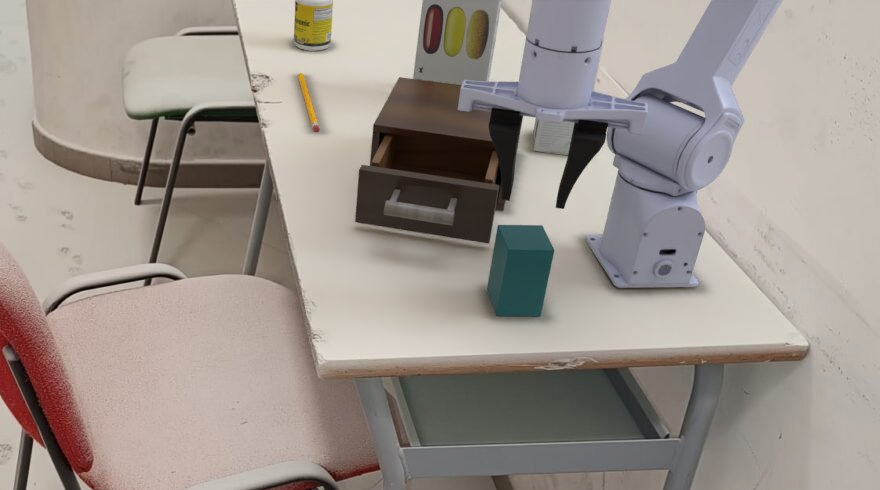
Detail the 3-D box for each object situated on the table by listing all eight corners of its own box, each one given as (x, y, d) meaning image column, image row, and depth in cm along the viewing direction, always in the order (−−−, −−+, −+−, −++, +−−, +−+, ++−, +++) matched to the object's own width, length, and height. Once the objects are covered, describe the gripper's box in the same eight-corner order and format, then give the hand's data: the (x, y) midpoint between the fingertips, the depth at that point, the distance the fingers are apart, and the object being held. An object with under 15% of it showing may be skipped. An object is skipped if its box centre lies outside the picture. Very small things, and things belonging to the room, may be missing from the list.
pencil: (312, 132, 122) (313, 127, 121) (297, 77, 137) (298, 73, 136) (319, 132, 122) (319, 127, 121) (303, 78, 137) (303, 73, 136)
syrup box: (582, 157, 118) (608, 33, 109) (530, 151, 119) (553, 28, 110) (580, 137, 122) (605, 18, 114) (530, 132, 123) (552, 13, 115)
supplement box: (407, 108, 128) (422, -28, 119) (417, 83, 136) (431, -47, 126) (483, 117, 127) (504, -20, 117) (488, 91, 134) (508, -40, 124)
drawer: (483, 265, 95) (493, 210, 92) (345, 242, 98) (349, 188, 94) (503, 185, 109) (511, 135, 106) (381, 167, 112) (386, 117, 109)
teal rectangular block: (540, 316, 90) (554, 249, 86) (496, 316, 89) (508, 249, 86) (529, 290, 93) (542, 225, 89) (486, 289, 93) (497, 224, 89)
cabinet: (503, 211, 106) (515, 144, 102) (367, 190, 109) (373, 124, 105) (516, 155, 118) (527, 93, 113) (393, 138, 121) (399, 76, 116)
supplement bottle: (287, 41, 148) (289, -27, 143) (320, 37, 150) (323, -31, 145) (303, 53, 144) (306, -17, 139) (337, 49, 146) (341, -20, 141)
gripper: (462, 45, 76) (441, 206, 84) (662, 69, 73) (621, 234, 81) (474, 18, 82) (453, 171, 89) (660, 39, 79) (622, 196, 86)
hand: (533, 199), depth 85 cm, fingers open, 4 cm apart
